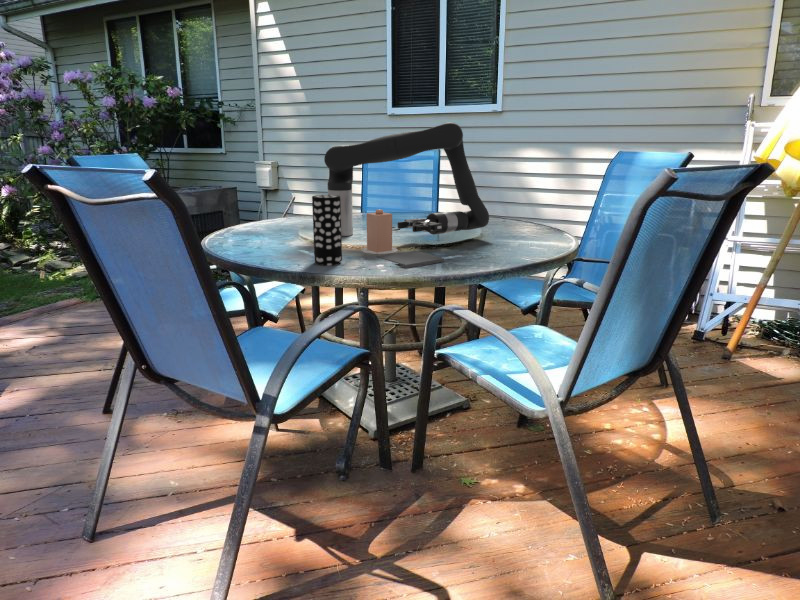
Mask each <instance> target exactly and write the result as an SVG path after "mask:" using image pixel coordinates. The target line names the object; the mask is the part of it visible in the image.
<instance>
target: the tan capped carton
mask: <svg viewBox="0 0 800 600" xmlns="http://www.w3.org/2000/svg"><path fill="white" fill-rule="evenodd" d="M366 248H367V250H370V251H374V252H377V253H378V252H385V251H392V248H393V214H392V213H389V212H384V209H375V212H367V213H366Z"/></svg>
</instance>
